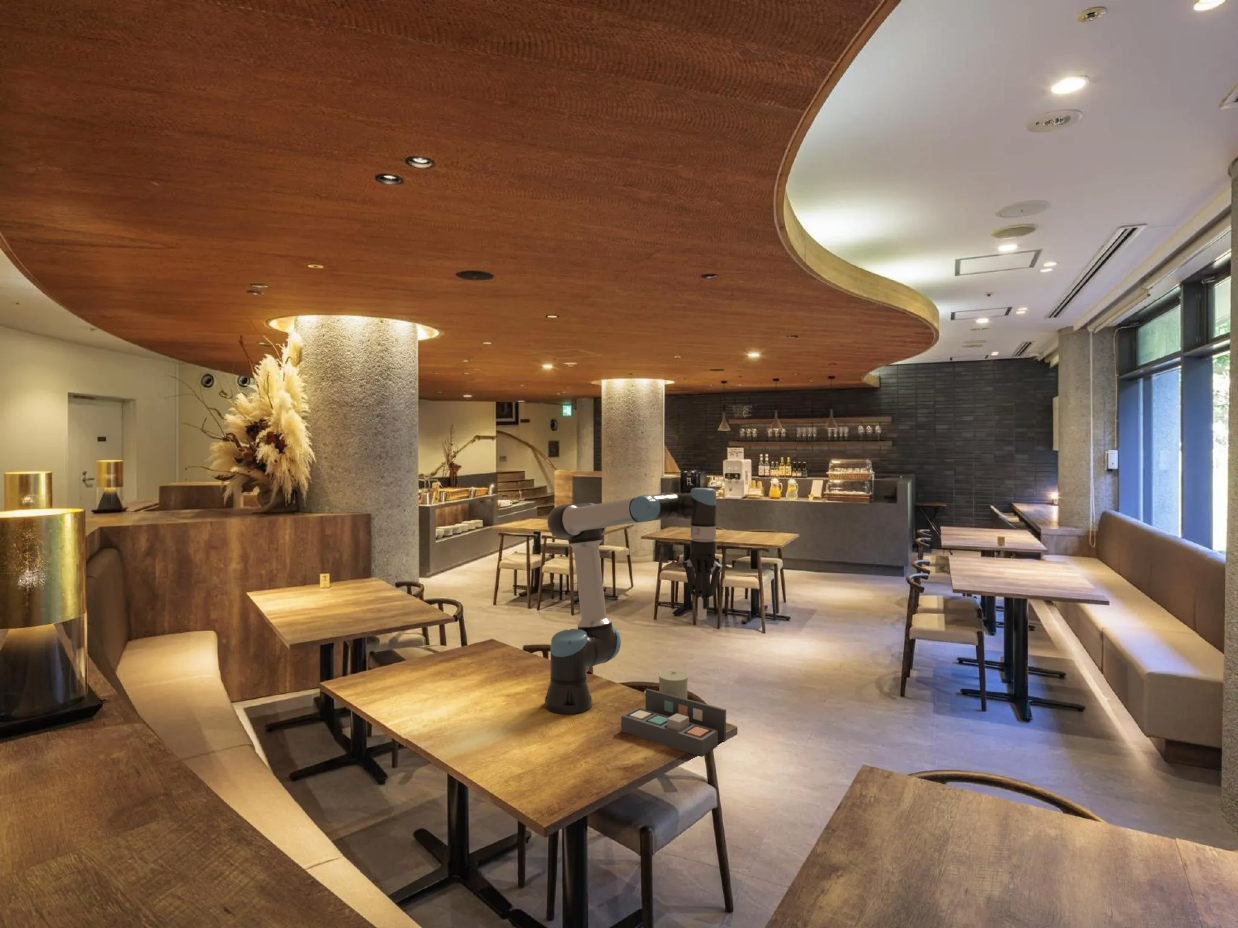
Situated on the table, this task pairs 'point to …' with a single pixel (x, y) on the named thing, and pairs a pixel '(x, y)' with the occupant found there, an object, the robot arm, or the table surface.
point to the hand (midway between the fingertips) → (702, 618)
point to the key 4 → (698, 732)
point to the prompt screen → (688, 710)
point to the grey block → (678, 722)
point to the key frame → (669, 734)
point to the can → (673, 683)
